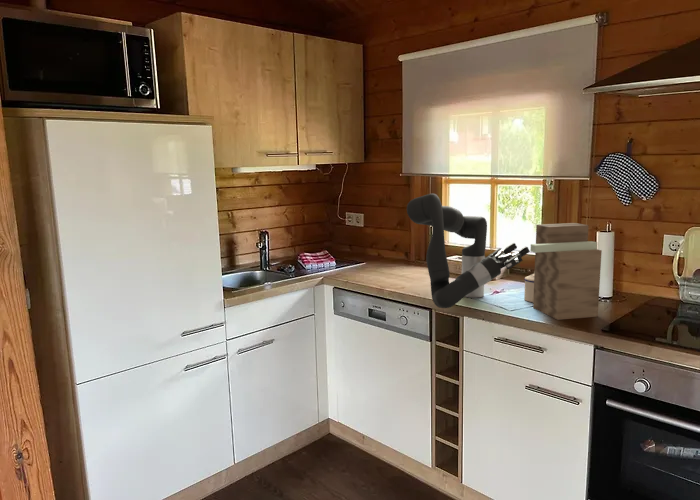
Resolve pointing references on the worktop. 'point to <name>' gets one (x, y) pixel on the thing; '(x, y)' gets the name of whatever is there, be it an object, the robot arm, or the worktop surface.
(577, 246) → the sage slat
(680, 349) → the worktop surface
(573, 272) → the brown wooden tall block
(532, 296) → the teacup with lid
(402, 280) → the worktop surface
